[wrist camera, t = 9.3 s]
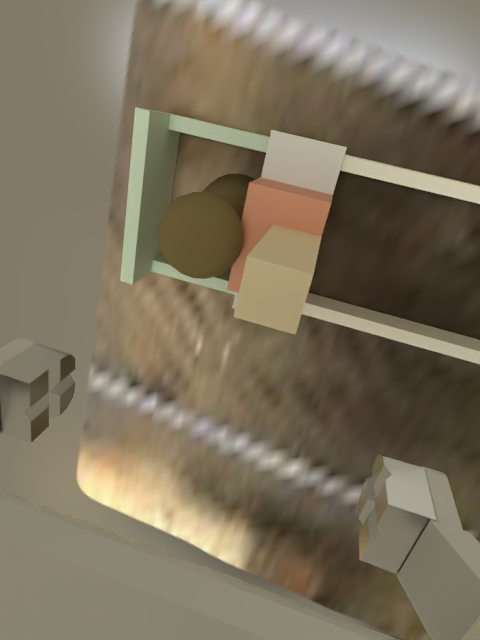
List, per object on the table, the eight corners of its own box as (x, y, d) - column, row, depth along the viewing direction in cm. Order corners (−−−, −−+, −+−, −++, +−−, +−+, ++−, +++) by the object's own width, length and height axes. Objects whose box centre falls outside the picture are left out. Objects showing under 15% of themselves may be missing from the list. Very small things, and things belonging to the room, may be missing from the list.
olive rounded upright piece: (286, 197, 32) (262, 222, 22) (251, 262, 35) (215, 310, 25) (218, 159, 32) (165, 166, 22) (188, 227, 35) (129, 260, 25)
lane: (588, 211, 28) (646, 227, 23) (504, 358, 33) (535, 400, 28) (170, 113, 32) (135, 107, 26) (152, 260, 37) (120, 280, 32)
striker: (346, 146, 30) (350, 151, 16) (298, 309, 35) (270, 419, 21) (278, 130, 30) (224, 122, 16) (241, 293, 36) (178, 390, 22)
